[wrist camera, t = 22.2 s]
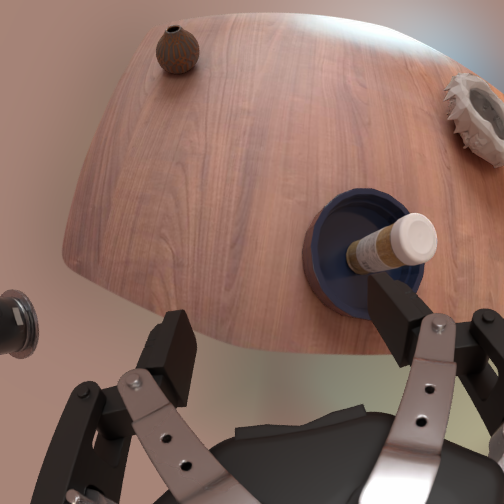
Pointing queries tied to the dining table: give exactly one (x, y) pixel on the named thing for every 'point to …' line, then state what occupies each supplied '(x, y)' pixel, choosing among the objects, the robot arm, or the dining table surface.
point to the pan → (337, 242)
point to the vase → (177, 50)
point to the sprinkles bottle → (394, 246)
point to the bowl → (477, 116)
